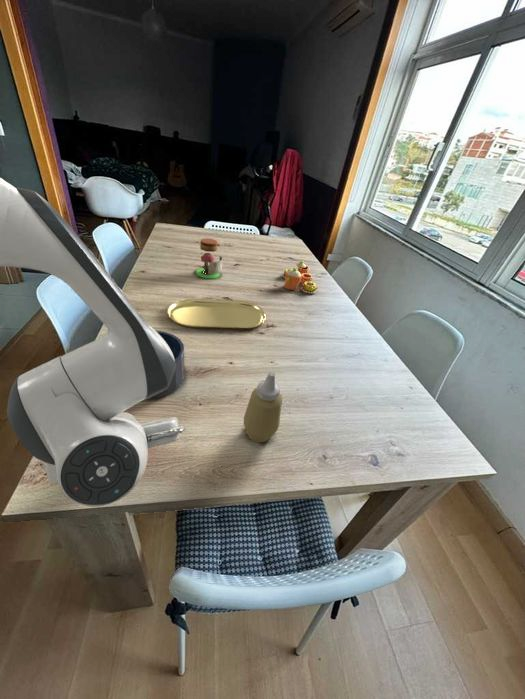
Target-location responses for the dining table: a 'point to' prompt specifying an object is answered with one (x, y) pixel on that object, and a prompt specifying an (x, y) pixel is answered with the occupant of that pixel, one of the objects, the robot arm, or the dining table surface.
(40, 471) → the dining table surface
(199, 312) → the serving platter
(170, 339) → the pot
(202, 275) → the mushroom terrarium jar
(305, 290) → the toy tea set
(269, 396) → the squeeze bottle
